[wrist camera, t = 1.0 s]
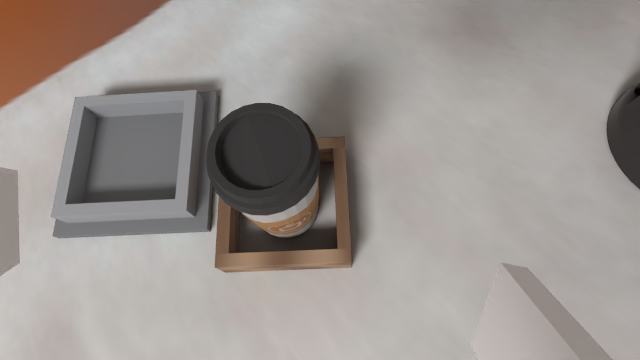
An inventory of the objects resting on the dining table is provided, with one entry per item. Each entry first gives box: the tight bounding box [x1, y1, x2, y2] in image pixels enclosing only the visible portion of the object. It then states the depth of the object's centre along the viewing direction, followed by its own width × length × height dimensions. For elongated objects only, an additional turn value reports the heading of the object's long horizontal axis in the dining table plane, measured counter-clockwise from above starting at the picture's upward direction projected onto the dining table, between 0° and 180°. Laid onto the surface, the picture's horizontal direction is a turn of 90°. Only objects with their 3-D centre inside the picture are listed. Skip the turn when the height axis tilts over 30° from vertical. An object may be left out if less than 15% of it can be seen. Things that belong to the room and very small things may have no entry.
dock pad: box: [51, 90, 219, 238], centre depth 44 cm, size 16×16×4 cm
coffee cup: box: [206, 103, 320, 238], centre depth 35 cm, size 8×8×15 cm
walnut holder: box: [215, 137, 352, 272], centre depth 41 cm, size 12×12×4 cm
